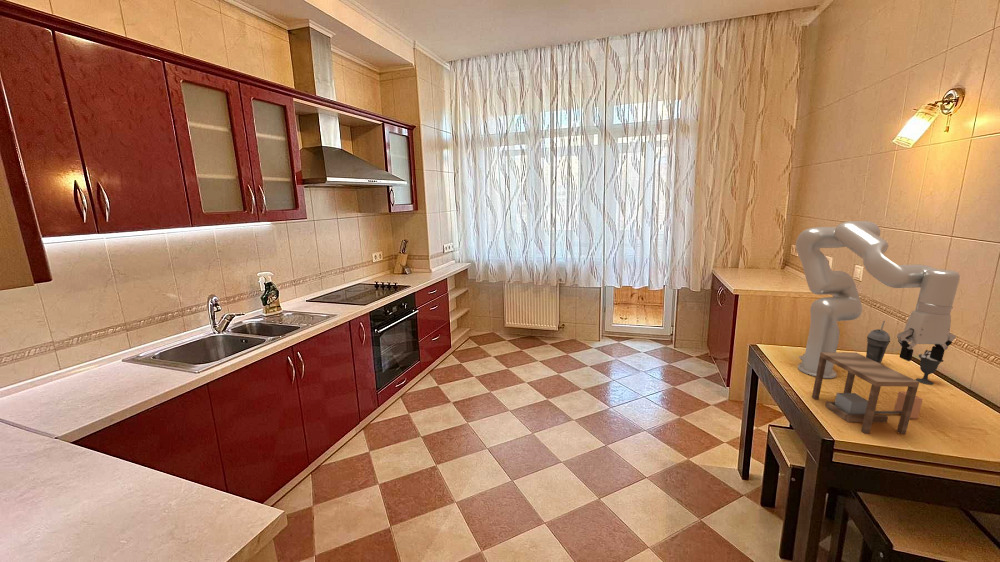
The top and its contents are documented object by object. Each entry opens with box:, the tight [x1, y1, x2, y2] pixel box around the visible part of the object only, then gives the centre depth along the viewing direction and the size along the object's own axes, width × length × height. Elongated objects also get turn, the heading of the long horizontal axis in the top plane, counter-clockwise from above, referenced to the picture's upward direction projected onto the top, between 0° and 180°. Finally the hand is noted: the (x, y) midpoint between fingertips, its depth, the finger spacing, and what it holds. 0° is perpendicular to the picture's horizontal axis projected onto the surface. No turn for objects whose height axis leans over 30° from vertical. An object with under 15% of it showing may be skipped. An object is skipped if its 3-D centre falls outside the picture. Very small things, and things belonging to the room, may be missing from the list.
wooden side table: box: [811, 351, 920, 435], centre depth 132 cm, size 22×13×18 cm, turn 179°
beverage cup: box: [865, 320, 891, 364], centre depth 170 cm, size 7×7×20 cm
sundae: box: [915, 349, 944, 386], centre depth 155 cm, size 7×7×15 cm
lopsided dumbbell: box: [834, 391, 924, 419], centre depth 133 cm, size 6×23×7 cm, turn 89°
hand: (920, 359), depth 129 cm, fingers open, 9 cm apart
